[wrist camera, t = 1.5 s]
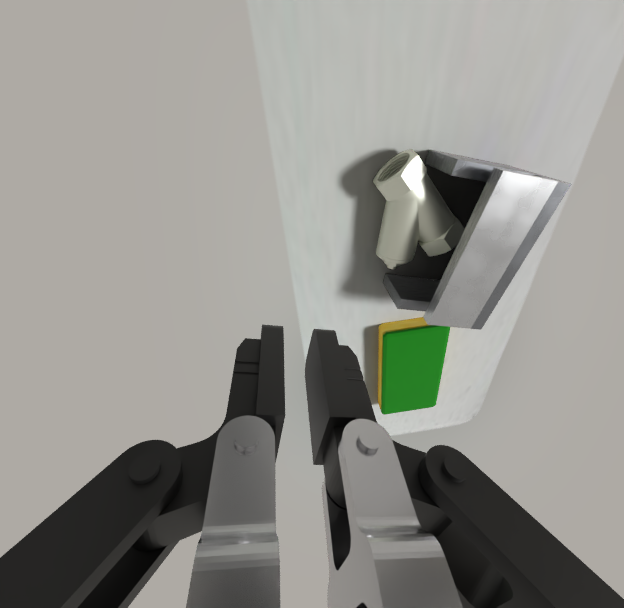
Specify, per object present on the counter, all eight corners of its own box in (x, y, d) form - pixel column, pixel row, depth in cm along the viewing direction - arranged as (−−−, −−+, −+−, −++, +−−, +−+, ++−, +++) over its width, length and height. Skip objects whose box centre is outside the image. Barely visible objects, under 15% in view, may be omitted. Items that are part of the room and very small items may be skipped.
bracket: (429, 149, 23) (474, 164, 18) (507, 165, 25) (571, 183, 19) (382, 282, 30) (405, 322, 24) (446, 289, 31) (481, 329, 26)
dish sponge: (440, 311, 33) (451, 325, 31) (428, 392, 41) (435, 407, 39) (377, 321, 33) (384, 335, 31) (376, 400, 41) (382, 415, 39)
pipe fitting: (388, 263, 29) (452, 218, 27) (399, 286, 26) (472, 237, 24) (337, 204, 26) (405, 144, 23) (342, 222, 23) (421, 156, 20)
